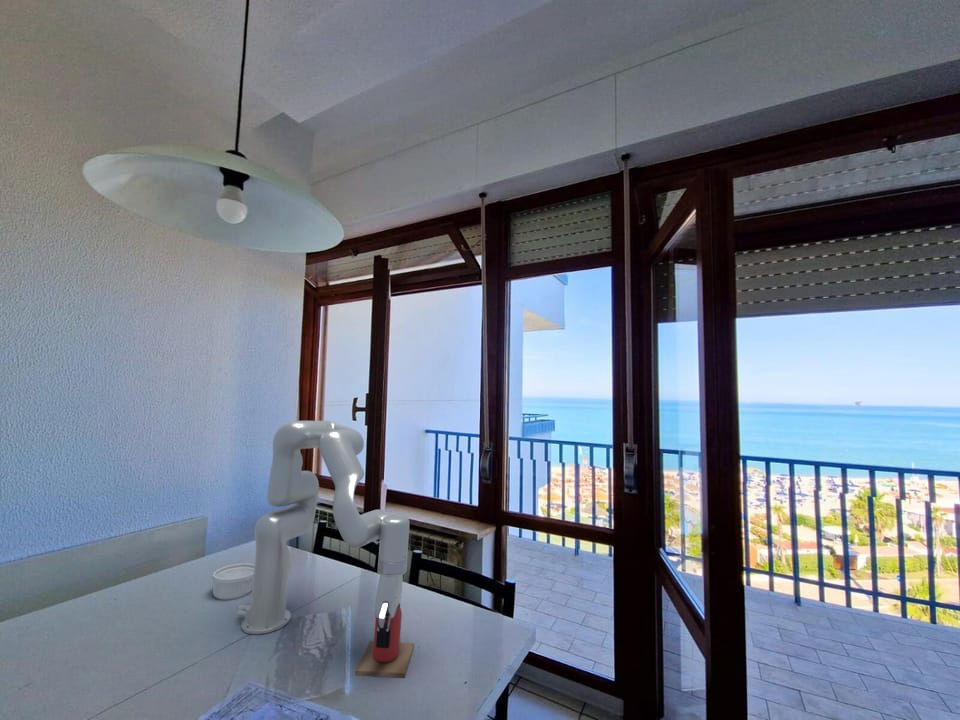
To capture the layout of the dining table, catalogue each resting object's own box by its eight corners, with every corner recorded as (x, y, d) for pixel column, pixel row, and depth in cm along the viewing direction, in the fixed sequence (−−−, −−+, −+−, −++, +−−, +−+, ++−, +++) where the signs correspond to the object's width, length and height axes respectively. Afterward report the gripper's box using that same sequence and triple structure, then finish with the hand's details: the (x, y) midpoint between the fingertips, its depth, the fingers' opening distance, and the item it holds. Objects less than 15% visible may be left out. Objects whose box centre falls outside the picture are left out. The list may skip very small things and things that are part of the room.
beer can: (392, 666, 94) (396, 613, 95) (367, 661, 95) (372, 609, 97) (402, 650, 100) (406, 601, 102) (379, 645, 101) (383, 597, 103)
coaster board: (354, 675, 91) (355, 670, 91) (369, 644, 103) (370, 641, 103) (404, 677, 91) (404, 673, 91) (413, 647, 103) (413, 643, 103)
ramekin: (263, 591, 131) (266, 569, 132) (221, 606, 120) (224, 582, 121) (244, 580, 138) (246, 560, 139) (202, 594, 127) (205, 571, 128)
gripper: (386, 552, 109) (382, 617, 107) (368, 578, 92) (362, 656, 89) (412, 553, 109) (408, 618, 106) (399, 580, 92) (394, 657, 89)
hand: (387, 635), depth 98 cm, fingers open, 9 cm apart
